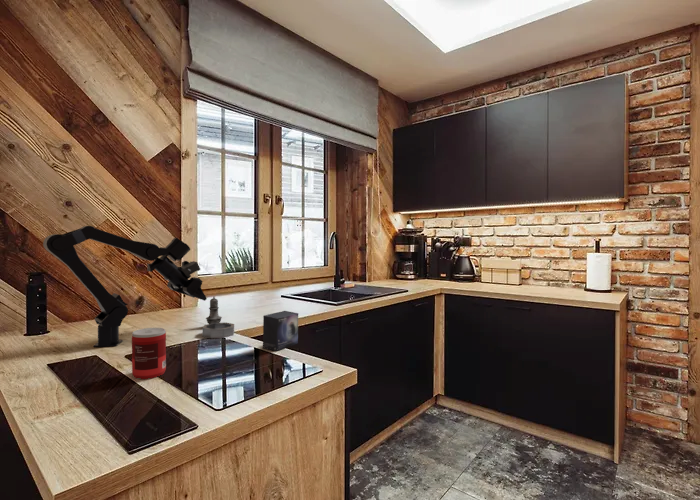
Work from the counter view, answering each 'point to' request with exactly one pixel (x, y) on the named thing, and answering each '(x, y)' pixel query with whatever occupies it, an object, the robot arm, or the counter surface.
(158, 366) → the canned food
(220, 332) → the grey polygonal dish
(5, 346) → the counter surface
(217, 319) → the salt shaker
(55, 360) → the counter surface
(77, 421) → the counter surface
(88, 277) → the robot arm
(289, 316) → the small box
